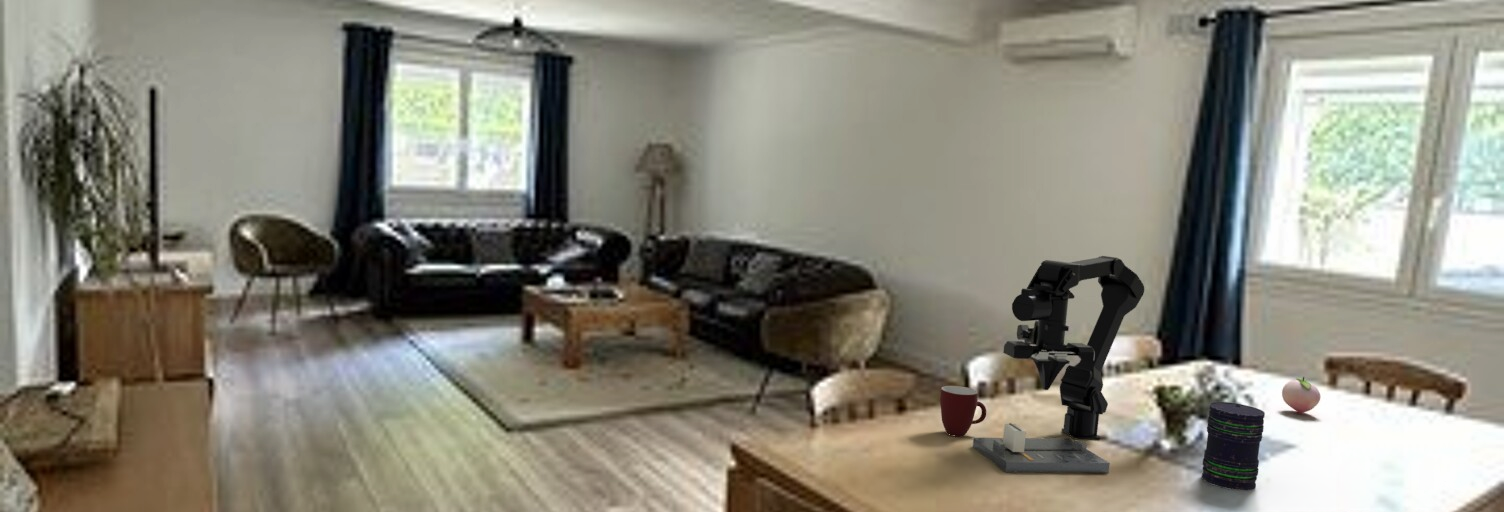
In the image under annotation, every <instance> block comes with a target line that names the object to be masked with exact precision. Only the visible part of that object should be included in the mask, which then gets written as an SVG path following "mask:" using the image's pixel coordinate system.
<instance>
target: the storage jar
mask: <svg viewBox="0 0 1504 512" xmlns="http://www.w3.org/2000/svg"><path fill="white" fill-rule="evenodd" d="M1265 414H1266V413H1265V411H1264V410H1262V409H1259V408H1257V407H1254V406H1250V405H1246V404H1241V403H1235V402H1234V403H1233V402H1226V401H1225V402H1224V401H1223V402H1222V401H1216V402H1211V403H1210V404H1209V412H1208V416H1207V426H1206V432H1207V437H1206V438H1207V440H1206V448H1205V450H1204V454H1203V458H1202V473H1201V479H1202V480H1203V481H1204V482H1205V483H1206V482H1207V483H1209V484H1210V485H1213V486H1215V487H1220V488H1223V489H1228V490H1234V491H1245V492H1246V491H1254V490H1255V489H1256V487H1257V483H1256V481H1257V479H1258V475H1259V463H1260V460H1259V454H1260V453H1259V452H1260V445H1261V442H1262V440H1263V432H1264V429H1265V428H1264V427H1265V426H1264V422H1265V420H1264V418H1265Z"/></svg>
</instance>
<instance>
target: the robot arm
mask: <svg viewBox="0 0 1504 512" xmlns="http://www.w3.org/2000/svg"><path fill="white" fill-rule="evenodd" d="M1097 278H1098V279H1097ZM1091 279H1097V282H1098V284H1099V285H1100V287H1101V288H1102V289H1101V293H1100V298H1101V303H1102V308H1101V312H1100V313H1099V316H1098V318H1097V320H1096V323H1095V325H1094V327H1093V330H1092V332H1091V335H1090V337H1089V339H1088V341H1087V343H1086V344H1084V343H1083V342H1081V343H1080V342H1067V343H1066V344H1065V335H1066V332H1069V326H1068V325H1066V324H1067V315H1068V304H1069V299H1071V300H1073V299H1075V295H1074V294H1073V292H1071V290H1070V289H1072V288H1074V287H1077V286H1078V285H1079V283H1080V282H1081V281H1086V280H1091ZM1144 293H1145V286H1144V284H1143V282H1142V280H1141V278H1140V277H1139V276H1138V274H1137V273H1136V272H1134V271H1133V269H1132V270H1131V268H1129V267H1128V266H1126V265H1125V262H1123V260H1122V259H1121V258H1118V257H1114V256H1109V255H1102V256H1101V255H1100V256H1098V257H1094V258H1088V259H1082V260H1077V261H1075V260H1074V261H1072V262H1067V261H1059V260H1052V259H1051V260H1049V259H1045V260H1043V261H1042V262H1041V263H1040V265H1039V266H1038V268H1037V269H1036V271H1035V274H1034V275H1033V277H1032V279H1031V280H1030V282H1029V284H1028V286H1027V287H1026V288H1022V289H1021V292H1020V294H1018V295H1017V296H1015V298H1014V300H1013V302H1012V304H1011V310H1012V314H1013V316H1014V318H1016V319H1017V320H1018V321H1021V322H1029V321H1031V322H1032V321H1033V322H1034V323H1033V327H1032V328H1030V327H1029V325H1028V324H1018V325H1017V329H1016V338H1017V341H1016V340H1007V341H1006V342H1005V343H1004V345H1003V354H1005V355H1007V356H1009V357H1011V358H1013V359H1016V360H1018V359H1022V360H1032V361H1033V362H1034V364H1035V366H1036V369H1037V372H1038V377H1039V379H1040V383H1041V387H1042V390H1043V391H1048V390H1050V388H1051V386H1052V385H1053V383H1054V382H1055V380H1056V379H1057V377H1058V375H1059V374H1060V372H1061V371H1062V370H1063V368H1064V367H1065V366H1066V365H1068V366H1067V367H1066V368H1065V371H1064V374H1063V376H1062V377H1061V379H1060V381H1061V382H1060V384H1059V393H1060V394H1059V395H1060V400H1061V401H1060V402H1061V405H1062V406H1064V407H1067V408H1066V409H1067V410H1066V412H1065V413H1064V418H1063V419H1064V420H1063V428H1061V431H1062V432H1063V433H1065V434H1067V435H1068V436H1070V437H1072V438H1073V439H1074V440H1084V439H1085V440H1101V439H1102V437H1101V436H1100V435H1098V428H1099V420H1100V415H1103V414H1105V413H1106V412H1107V408H1108V405H1109V402H1108V401H1107V399H1106V398H1105V396H1104V394H1103V392H1102V389H1103V388H1104V387H1103V386H1104V382H1103V376H1102V370H1103V367H1104V365H1105V362H1106V360H1107V358H1108V355H1109V353H1110V351H1111V349H1112V346H1113V343H1114V342H1115V340H1116V336H1117V334H1118V332H1119V330H1120V328H1121V324H1122V322H1123V320H1124V318H1125V316H1126V315H1127V314H1130V312H1132V311H1133V310H1134V309H1135V308H1137V306H1138V304H1139V303H1140V301H1141V299H1142V297H1143V296H1144V295H1145V294H1144ZM1068 356H1070V357H1071V356H1075V357H1078V358H1079V359H1080V360H1079V362H1078V363H1076V364H1075V365H1070V360H1068Z"/></svg>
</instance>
